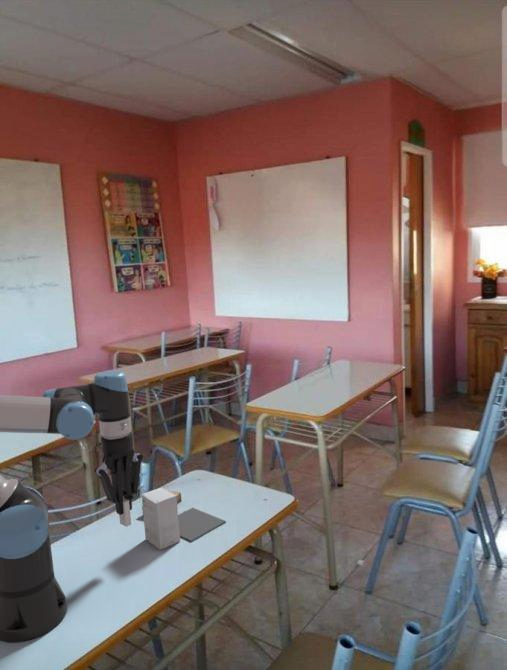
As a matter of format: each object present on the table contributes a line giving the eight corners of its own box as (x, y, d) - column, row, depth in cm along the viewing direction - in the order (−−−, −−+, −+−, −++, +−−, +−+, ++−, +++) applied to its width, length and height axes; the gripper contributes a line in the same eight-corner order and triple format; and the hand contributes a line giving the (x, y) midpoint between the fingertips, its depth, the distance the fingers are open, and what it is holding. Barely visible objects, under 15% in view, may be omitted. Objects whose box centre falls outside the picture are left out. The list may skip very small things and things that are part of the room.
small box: (180, 541, 147) (177, 495, 145) (160, 550, 143) (155, 503, 141) (165, 530, 153) (161, 486, 151) (145, 539, 149) (140, 494, 147)
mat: (191, 542, 147) (191, 540, 146) (158, 526, 156) (158, 525, 156) (225, 522, 156) (225, 521, 156) (192, 508, 165) (192, 507, 165)
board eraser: (156, 519, 161) (155, 509, 160) (143, 516, 163) (142, 506, 163) (181, 502, 171) (180, 492, 170) (169, 499, 173) (168, 489, 173)
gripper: (101, 445, 128) (112, 539, 132) (147, 429, 137) (155, 518, 141) (84, 439, 133) (94, 530, 137) (129, 424, 142) (137, 509, 146)
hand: (125, 523), depth 139 cm, fingers closed
